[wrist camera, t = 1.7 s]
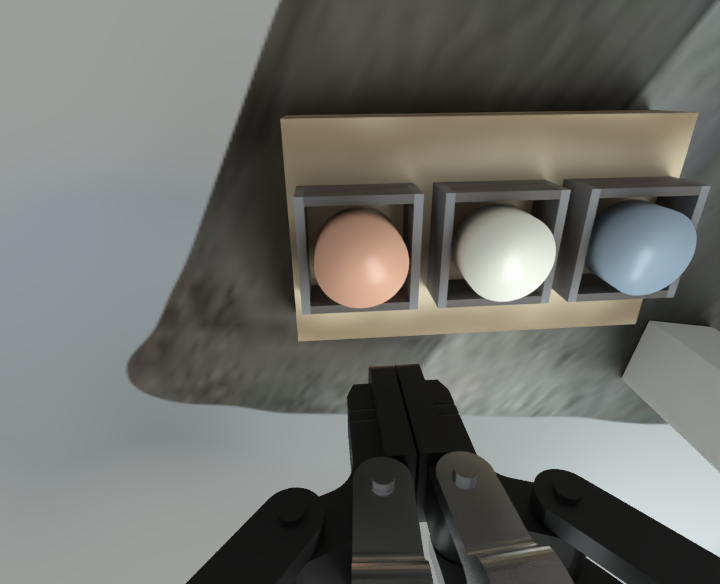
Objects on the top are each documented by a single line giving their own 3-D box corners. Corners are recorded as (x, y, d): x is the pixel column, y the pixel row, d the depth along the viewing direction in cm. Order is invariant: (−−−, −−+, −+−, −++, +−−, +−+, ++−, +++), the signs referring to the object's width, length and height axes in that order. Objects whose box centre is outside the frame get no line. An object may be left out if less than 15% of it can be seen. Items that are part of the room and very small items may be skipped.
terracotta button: (312, 208, 23) (311, 220, 21) (402, 205, 24) (411, 217, 22) (317, 291, 26) (316, 310, 23) (399, 287, 26) (407, 306, 24)
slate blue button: (591, 200, 25) (619, 211, 22) (674, 197, 25) (709, 208, 23) (574, 280, 27) (597, 297, 24) (650, 276, 27) (680, 293, 25)
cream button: (455, 204, 24) (469, 215, 22) (541, 201, 24) (563, 212, 22) (448, 285, 26) (460, 303, 24) (527, 281, 27) (547, 299, 24)
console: (285, 115, 27) (274, 122, 20) (650, 109, 28) (745, 114, 22) (300, 313, 33) (296, 366, 26) (602, 299, 34) (665, 346, 28)
